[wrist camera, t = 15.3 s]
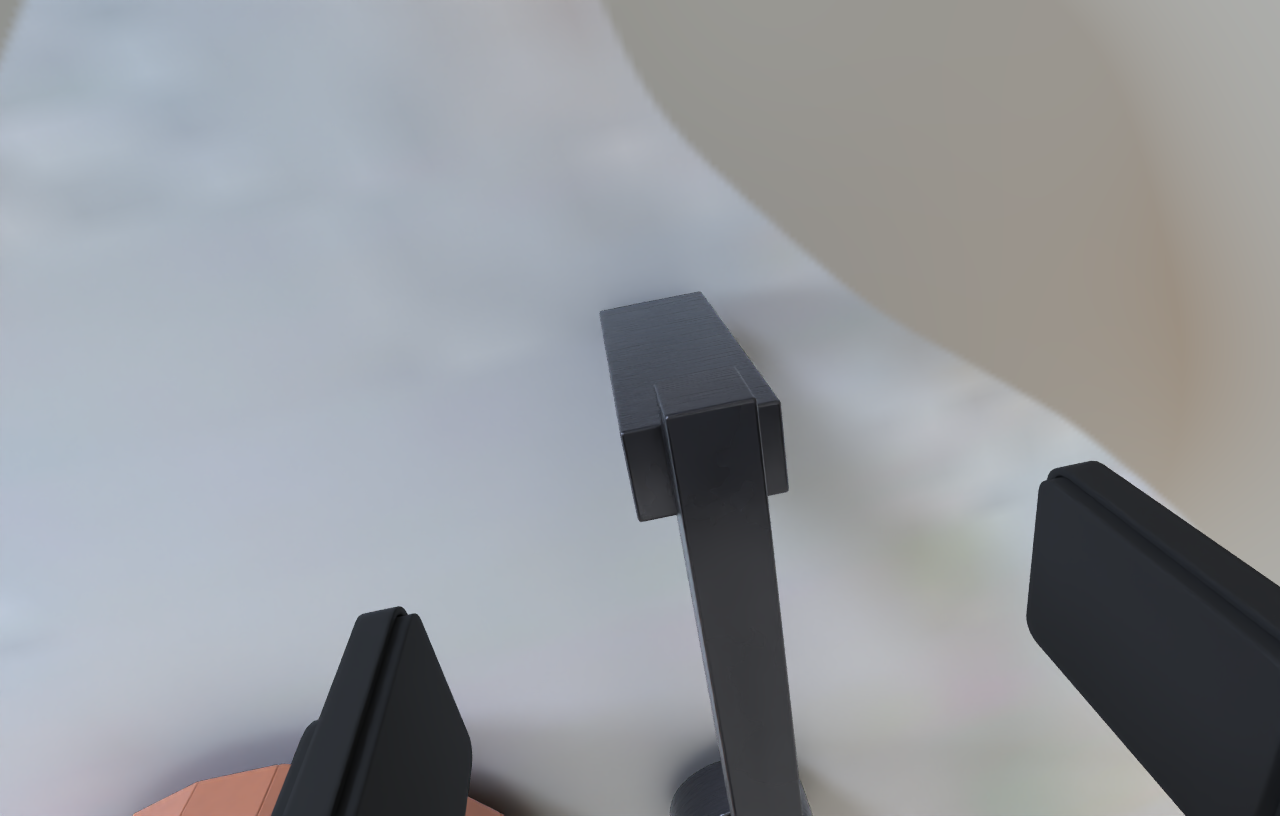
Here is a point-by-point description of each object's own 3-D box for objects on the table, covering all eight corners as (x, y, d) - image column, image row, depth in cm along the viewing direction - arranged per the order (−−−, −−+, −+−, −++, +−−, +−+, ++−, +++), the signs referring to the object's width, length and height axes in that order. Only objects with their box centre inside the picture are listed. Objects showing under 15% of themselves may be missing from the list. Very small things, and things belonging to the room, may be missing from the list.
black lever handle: (544, 290, 15) (529, 443, 9) (744, 251, 16) (889, 371, 9) (680, 860, 24) (727, 1164, 17) (807, 832, 24) (905, 1123, 17)
